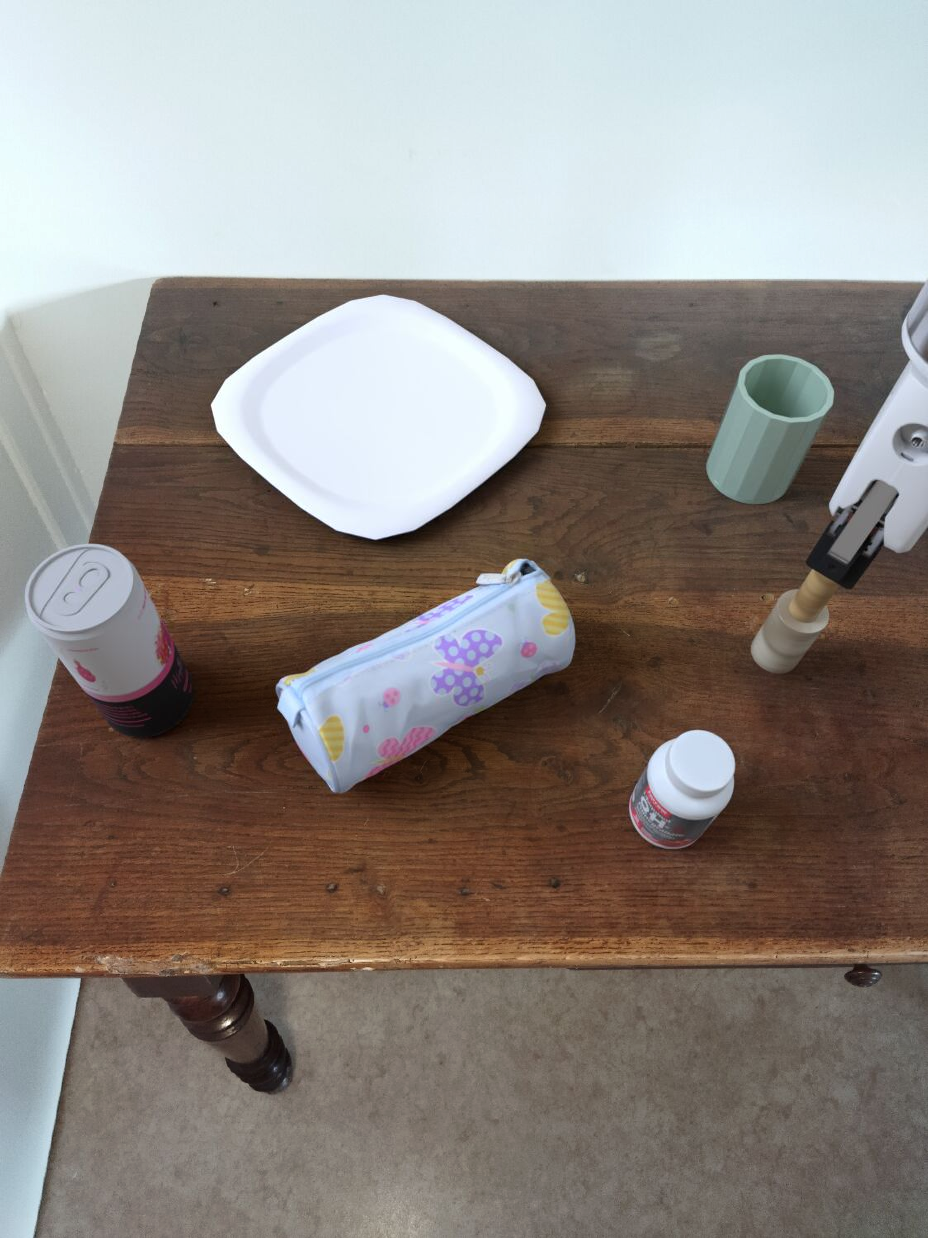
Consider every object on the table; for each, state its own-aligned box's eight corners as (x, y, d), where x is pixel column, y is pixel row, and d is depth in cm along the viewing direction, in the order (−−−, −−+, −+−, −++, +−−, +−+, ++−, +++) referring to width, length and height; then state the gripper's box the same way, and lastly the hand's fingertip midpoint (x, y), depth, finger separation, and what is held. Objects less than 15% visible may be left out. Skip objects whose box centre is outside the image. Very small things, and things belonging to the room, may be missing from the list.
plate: (576, 416, 81) (579, 402, 79) (375, 580, 71) (374, 568, 69) (384, 286, 89) (383, 272, 88) (181, 416, 79) (176, 402, 78)
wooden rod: (807, 650, 67) (919, 498, 51) (784, 682, 65) (892, 536, 50) (765, 623, 68) (862, 467, 52) (741, 655, 66) (834, 504, 51)
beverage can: (213, 682, 66) (159, 567, 53) (158, 755, 63) (86, 651, 50) (142, 646, 67) (72, 525, 54) (85, 715, 64) (-3, 605, 51)
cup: (805, 467, 78) (850, 383, 70) (764, 518, 75) (806, 436, 67) (732, 427, 81) (767, 341, 72) (690, 475, 77) (721, 390, 69)
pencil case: (513, 596, 70) (523, 523, 62) (579, 678, 67) (599, 612, 59) (276, 725, 64) (253, 662, 56) (334, 824, 60) (318, 771, 52)
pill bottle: (617, 831, 61) (646, 779, 52) (641, 764, 63) (673, 704, 55) (692, 864, 59) (734, 816, 51) (714, 795, 62) (758, 738, 54)
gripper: (1014, 469, 36) (836, 679, 51) (1137, 273, 42) (947, 512, 58) (844, 382, 38) (724, 609, 54) (987, 209, 45) (843, 455, 60)
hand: (841, 557), depth 56 cm, fingers closed on wooden rod, 2 cm apart
